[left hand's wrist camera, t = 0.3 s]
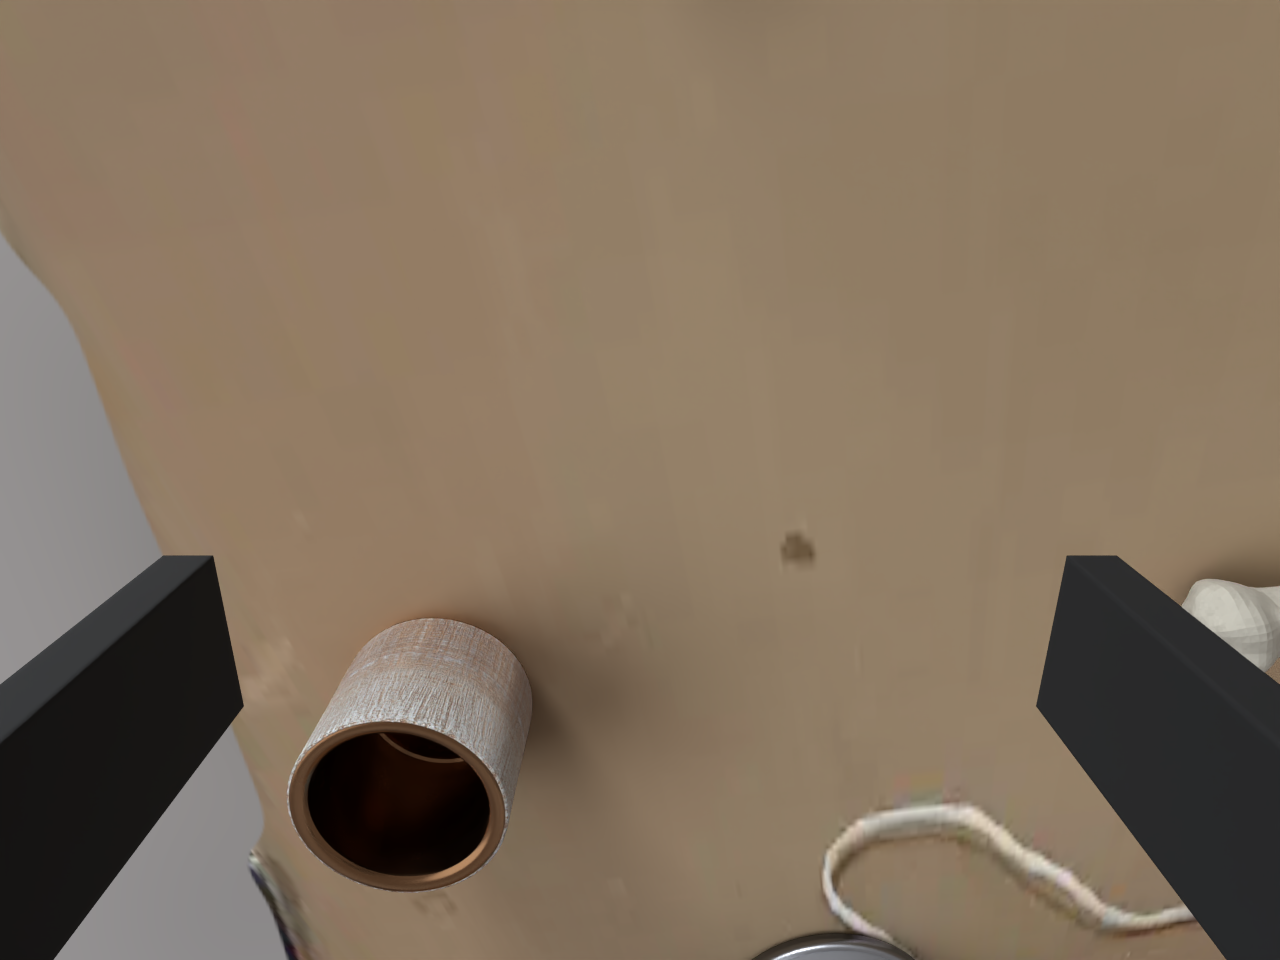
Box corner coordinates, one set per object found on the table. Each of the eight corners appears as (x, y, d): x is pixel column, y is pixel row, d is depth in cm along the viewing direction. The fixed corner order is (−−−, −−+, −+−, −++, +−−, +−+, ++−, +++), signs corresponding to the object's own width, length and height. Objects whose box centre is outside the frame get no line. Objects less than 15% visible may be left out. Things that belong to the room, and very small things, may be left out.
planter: (315, 650, 47) (239, 763, 38) (482, 585, 45) (444, 686, 36) (406, 788, 50) (356, 921, 42) (564, 731, 49) (547, 856, 40)
